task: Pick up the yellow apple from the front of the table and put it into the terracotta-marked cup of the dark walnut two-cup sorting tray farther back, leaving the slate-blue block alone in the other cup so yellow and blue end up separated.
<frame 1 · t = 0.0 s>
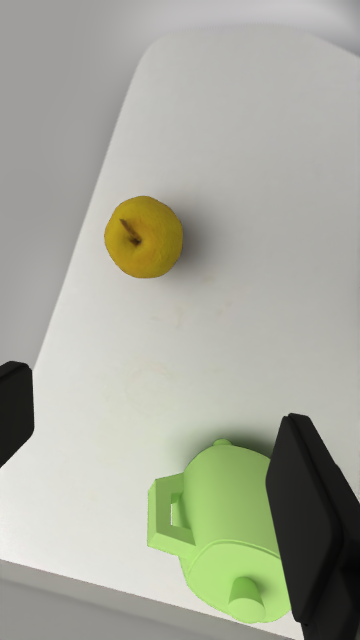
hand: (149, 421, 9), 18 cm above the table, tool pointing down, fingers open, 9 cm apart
teapot: (235, 475, 32), on the table
apple: (156, 240, 26), on the table
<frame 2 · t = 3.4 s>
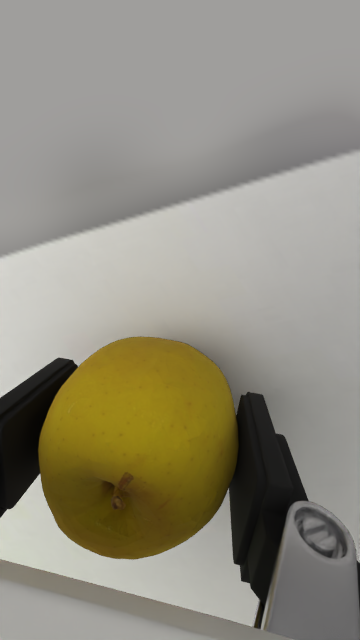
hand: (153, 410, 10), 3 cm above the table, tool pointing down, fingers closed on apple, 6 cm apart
apple: (167, 371, 13), on the table, touching gripper
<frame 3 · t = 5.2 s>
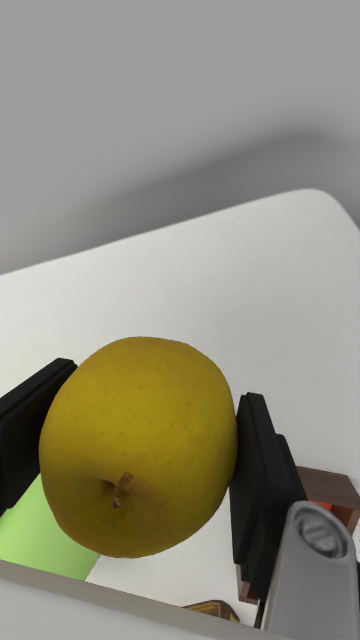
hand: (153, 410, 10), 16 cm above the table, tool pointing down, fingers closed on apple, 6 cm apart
teapot: (67, 489, 34), on the table
apple: (167, 371, 13), point 13 cm above the table, touching gripper
book: (168, 625, 38), on the table
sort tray: (286, 525, 31), on the table
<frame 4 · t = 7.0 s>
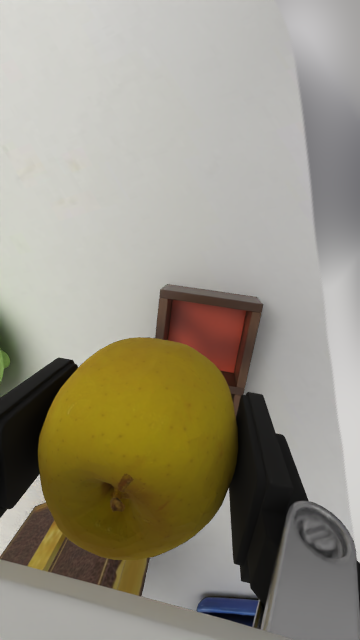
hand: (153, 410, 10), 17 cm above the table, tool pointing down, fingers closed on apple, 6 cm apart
apple: (167, 372, 13), point 14 cm above the table, touching gripper
flower pot: (240, 616, 38), on the table
book: (90, 505, 36), on the table
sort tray: (198, 368, 28), on the table
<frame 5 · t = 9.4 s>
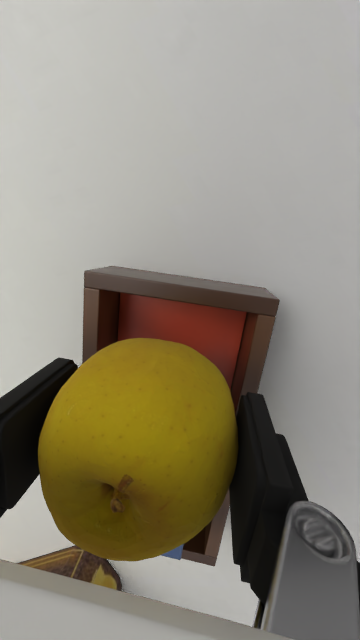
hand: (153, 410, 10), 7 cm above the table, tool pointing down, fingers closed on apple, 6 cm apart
apple: (167, 372, 13), point 3 cm above the table, touching gripper
book: (23, 587, 25), on the table
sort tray: (169, 404, 17), on the table
when the fingers open (4 cm above the table, at t = 10.8 s): apple stays where it is, resting on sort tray.
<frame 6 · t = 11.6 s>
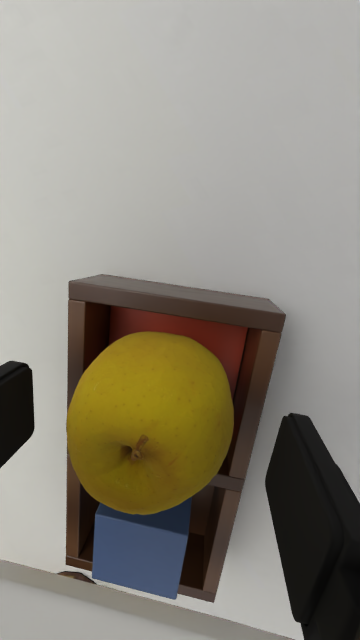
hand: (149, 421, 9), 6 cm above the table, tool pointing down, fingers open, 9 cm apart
apple: (171, 364, 15), resting on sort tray
blue block: (156, 480, 17), resting on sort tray
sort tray: (164, 423, 16), on the table
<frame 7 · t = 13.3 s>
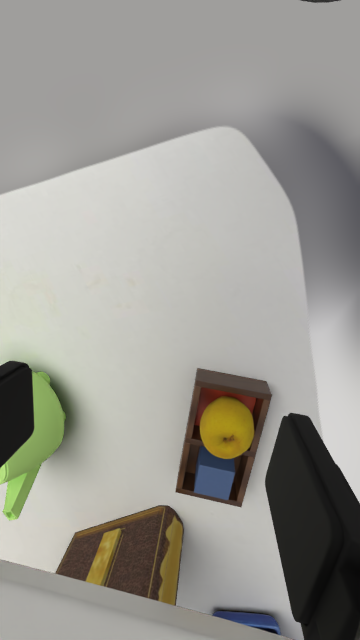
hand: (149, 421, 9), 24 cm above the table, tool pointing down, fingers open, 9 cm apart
teapot: (34, 402, 39), on the table
apple: (225, 405, 35), resting on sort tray
flower pot: (245, 627, 46), on the table
book: (122, 533, 44), on the table
blue block: (213, 456, 37), resting on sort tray
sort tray: (219, 430, 36), on the table
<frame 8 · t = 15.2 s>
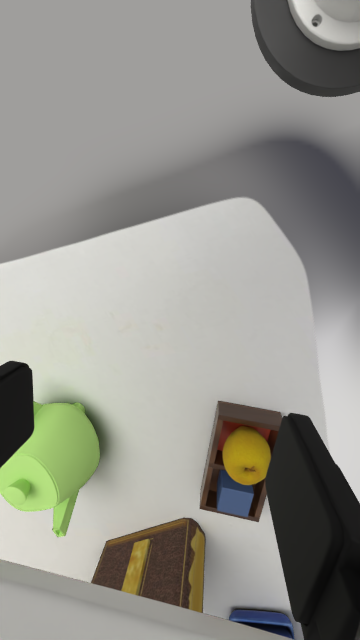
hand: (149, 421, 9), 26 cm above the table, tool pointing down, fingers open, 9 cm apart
teapot: (70, 428, 44), on the table
apple: (243, 433, 39), resting on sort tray
flower pot: (260, 623, 51), on the table
book: (149, 541, 48), on the table
blue block: (232, 476, 41), resting on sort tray
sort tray: (237, 453, 40), on the table
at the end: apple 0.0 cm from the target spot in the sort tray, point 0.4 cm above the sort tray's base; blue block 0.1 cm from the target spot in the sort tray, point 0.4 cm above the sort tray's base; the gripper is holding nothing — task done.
